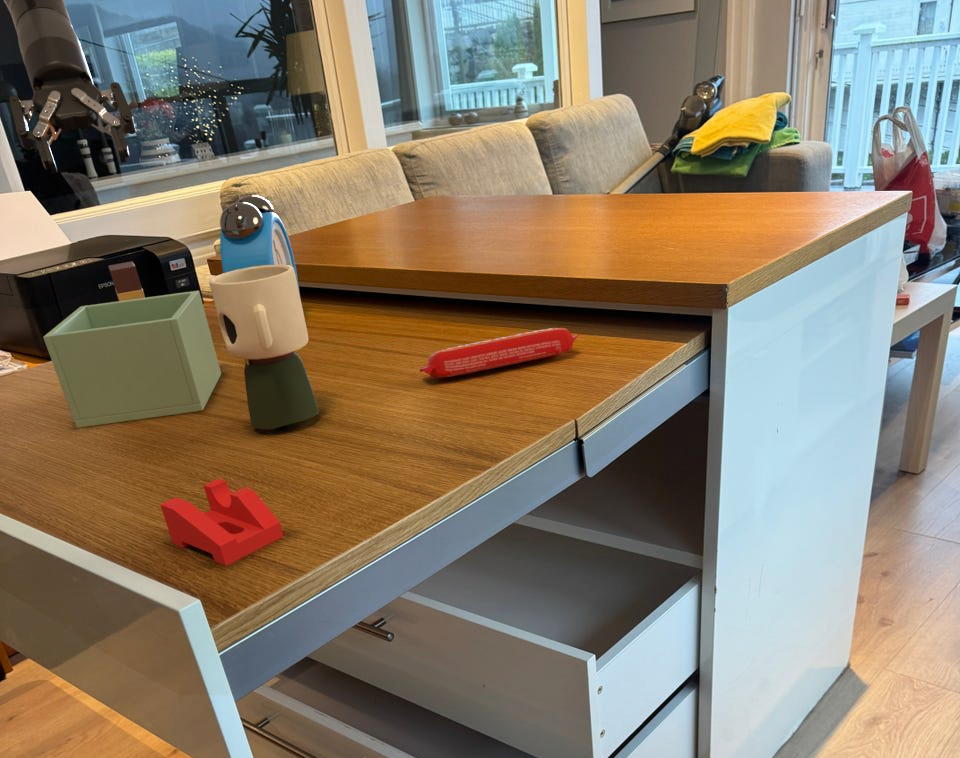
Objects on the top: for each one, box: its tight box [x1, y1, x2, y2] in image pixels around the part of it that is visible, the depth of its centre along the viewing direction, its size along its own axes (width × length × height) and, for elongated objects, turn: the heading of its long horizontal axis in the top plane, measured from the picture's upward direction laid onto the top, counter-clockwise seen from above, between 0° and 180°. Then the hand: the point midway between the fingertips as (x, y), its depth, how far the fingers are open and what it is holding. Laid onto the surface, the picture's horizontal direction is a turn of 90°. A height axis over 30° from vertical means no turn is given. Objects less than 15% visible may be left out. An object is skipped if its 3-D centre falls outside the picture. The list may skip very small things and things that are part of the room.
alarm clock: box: [219, 194, 300, 291], centre depth 108 cm, size 13×6×15 cm, turn 0°
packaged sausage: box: [419, 327, 580, 378], centre depth 88 cm, size 16×4×3 cm, turn 108°
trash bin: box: [43, 290, 222, 429], centre depth 90 cm, size 12×12×9 cm
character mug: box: [208, 265, 320, 430], centre depth 78 cm, size 11×7×13 cm, turn 13°
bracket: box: [159, 478, 284, 567], centre depth 62 cm, size 6×5×3 cm
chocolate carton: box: [108, 261, 146, 301], centre depth 113 cm, size 4×3×9 cm
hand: (88, 163), depth 114 cm, fingers open, 8 cm apart
